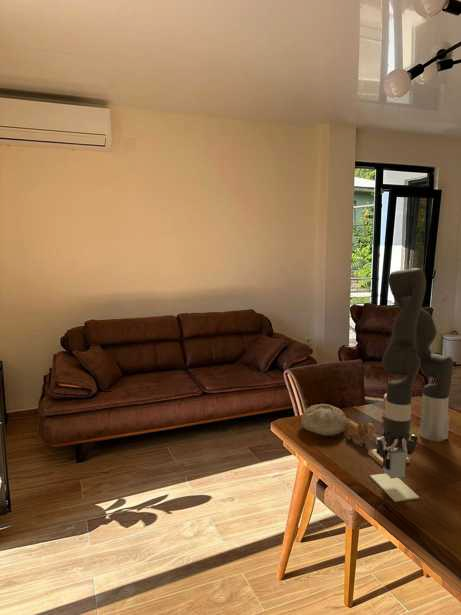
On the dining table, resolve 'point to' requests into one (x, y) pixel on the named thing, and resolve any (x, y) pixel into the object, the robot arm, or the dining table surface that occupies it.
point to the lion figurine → (360, 431)
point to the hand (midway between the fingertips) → (394, 467)
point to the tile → (394, 487)
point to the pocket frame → (376, 456)
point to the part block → (396, 464)
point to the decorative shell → (324, 419)
